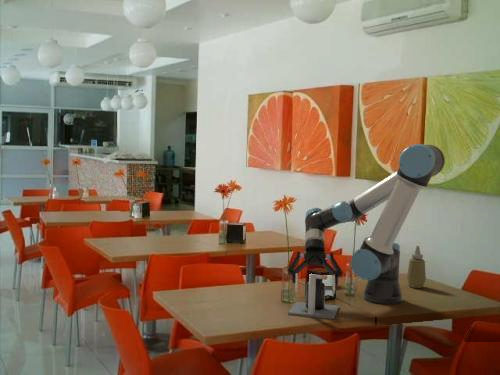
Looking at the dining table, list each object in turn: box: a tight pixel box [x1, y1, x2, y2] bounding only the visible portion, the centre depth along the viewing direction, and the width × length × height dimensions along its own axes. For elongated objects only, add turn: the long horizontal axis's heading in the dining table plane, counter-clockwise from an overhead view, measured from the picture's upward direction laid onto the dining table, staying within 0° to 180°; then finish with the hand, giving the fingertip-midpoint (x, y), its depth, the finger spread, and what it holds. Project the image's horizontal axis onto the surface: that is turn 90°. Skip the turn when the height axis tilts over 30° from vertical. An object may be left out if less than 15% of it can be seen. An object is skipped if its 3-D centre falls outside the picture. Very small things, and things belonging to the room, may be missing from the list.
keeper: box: [287, 273, 340, 320], centre depth 216 cm, size 16×16×15 cm
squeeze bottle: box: [406, 245, 427, 289], centre depth 261 cm, size 8×8×18 cm
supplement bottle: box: [305, 274, 326, 310], centre depth 217 cm, size 7×7×12 cm
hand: (315, 291), depth 217 cm, fingers open, 13 cm apart
